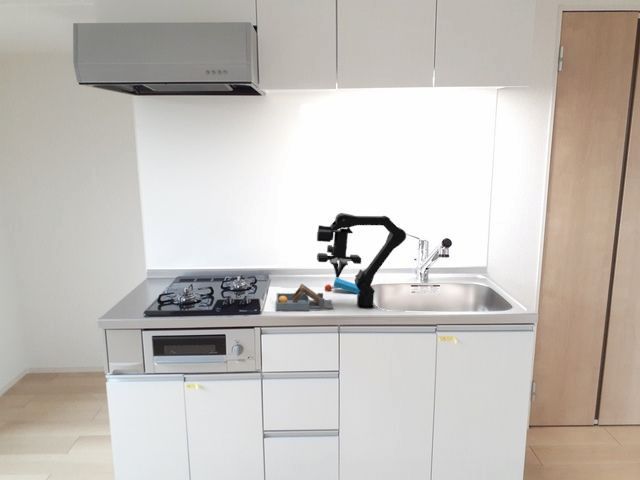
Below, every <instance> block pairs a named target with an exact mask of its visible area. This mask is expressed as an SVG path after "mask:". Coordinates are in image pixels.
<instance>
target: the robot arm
mask: <svg viewBox="0 0 640 480" xmlns="http://www.w3.org/2000/svg"><path fill="white" fill-rule="evenodd" d="M356 226H383V227H384V228H385V229H386V230H387V232H388V235H387V237H386V240H385V243H384V244H383V246H382V247H381V249H380V250H379V251H378V253H377V254H376V255H375V256H374V258H373V260H372V261H371V262H370V264H369V265H368V266H367V267H366V268H365V269H364V270H362V269H359V271H358V273H357V274H356V275H355V279H354V284H356V286H357V288H358V289H359V290H360V291H359V294H357V296H356V305H357V306H358V308H360V309H374V308H375V306H374V295H375V290H374V288H373V286H372V283H373V280H374V277H375V275H376V274H377V272H378V271H379V270H380V269H381V267H382V265H383V264H384V263H385V261H386V260H387V259H388V257H390V254H391V253H392V252H393V251H394V249H396V248H397V247H399V246H400V245H401V244H403V242H405V240H406V239H407V233H406V231H405V230H404V229H402V228H401V227H398V226H397V225H396V224H395V223H394V222H393V221H392V220H391V218H390V217H388V216H386V215H382V216H381V215H376V216H374V215H354V214H349V213H343V212H340V213H338V214H337V215H336V216H335V218H334V221H333V222H332V223H331V224H330V226H328V225H318V228H317V233H316V241H317V242H324V243H326V242H327V243H328V242H329V243H330V242H331V241H333V245H332V244H327V247H326V252H325V253H324V252H322V253H321V252H318V253H317V254H316V260H317V261H318V262H319V263H327V262H328V261H329V263H330V264H331V265H332V266H333V269H334V274H335V279H336V278H339V279H340V276H341V274H342V272H343V270H344V269H345V267H347V266H348V265H349V263H348V262H352V263H353V264H354V265H355V264H357V265H361V264H362V258H361V256H359V254H350V255H349V256H347V248H348V236H349V234H353V231H352V229H350V228H353V227H356ZM328 253H330V255H328Z"/></svg>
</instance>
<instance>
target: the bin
mask: <svg viewBox="0 0 640 480" xmlns="http://www.w3.org/2000/svg"><path fill="white" fill-rule="evenodd" d="M294 294H295V292H294V293H291V292H290V293H289V292H288V293H285V292H284V293H281V292H280V293H279V292H278V293H276V299H275V300H276V304H275V305H276V307H275V308H276V309H275V310H276V312H310V306H309V300H310V297H309V296H308V295H306V294H305V293H304V294H303V295H302V297H301V298H300V299H299V300H298V302H297V303H294V302H292V301H293V298H292V296H293V295H294ZM280 296H285V297H286V298H287V303H279V302H278V299H279V297H280Z"/></svg>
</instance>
